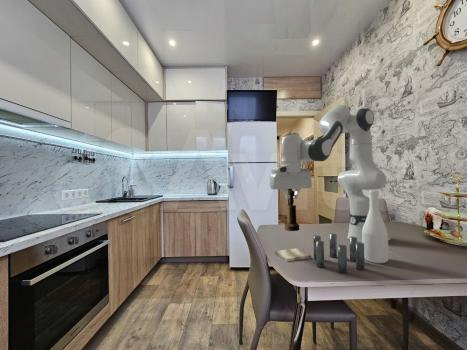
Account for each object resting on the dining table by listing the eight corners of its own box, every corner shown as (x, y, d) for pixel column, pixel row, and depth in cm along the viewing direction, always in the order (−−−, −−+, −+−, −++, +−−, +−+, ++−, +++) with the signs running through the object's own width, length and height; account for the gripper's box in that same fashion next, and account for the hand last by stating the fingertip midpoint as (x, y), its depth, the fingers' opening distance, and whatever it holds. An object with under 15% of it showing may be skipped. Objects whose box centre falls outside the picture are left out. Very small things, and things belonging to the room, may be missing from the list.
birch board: (297, 250, 115) (296, 248, 115) (311, 258, 105) (310, 255, 105) (275, 253, 111) (274, 251, 111) (287, 261, 101) (287, 258, 101)
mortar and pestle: (282, 228, 111) (282, 190, 111) (295, 227, 112) (295, 189, 112) (287, 231, 104) (287, 190, 104) (301, 230, 105) (301, 190, 105)
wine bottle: (358, 256, 106) (357, 189, 106) (379, 255, 106) (378, 189, 106) (369, 264, 97) (368, 190, 97) (393, 263, 96) (392, 190, 96)
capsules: (341, 254, 109) (340, 232, 109) (374, 268, 92) (374, 242, 92) (304, 259, 103) (303, 236, 103) (333, 275, 86) (332, 248, 86)
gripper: (306, 168, 114) (306, 197, 114) (268, 168, 108) (268, 199, 108) (314, 168, 108) (315, 198, 108) (274, 168, 102) (275, 200, 102)
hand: (291, 198), depth 108 cm, fingers closed on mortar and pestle, 2 cm apart
